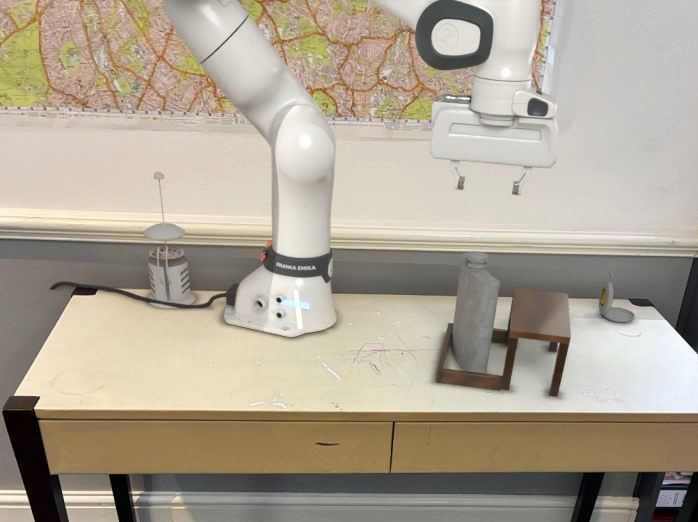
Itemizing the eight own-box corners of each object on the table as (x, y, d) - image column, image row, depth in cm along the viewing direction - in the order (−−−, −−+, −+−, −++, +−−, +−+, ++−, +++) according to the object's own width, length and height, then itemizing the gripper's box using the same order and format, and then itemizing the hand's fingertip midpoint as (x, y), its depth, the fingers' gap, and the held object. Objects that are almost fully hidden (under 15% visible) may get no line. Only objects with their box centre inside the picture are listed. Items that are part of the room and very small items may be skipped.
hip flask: (487, 379, 141) (504, 270, 129) (466, 380, 140) (481, 270, 128) (464, 341, 153) (478, 238, 141) (444, 342, 152) (456, 238, 140)
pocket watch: (640, 320, 166) (652, 274, 160) (613, 328, 162) (625, 281, 156) (610, 306, 171) (621, 261, 165) (584, 313, 167) (594, 267, 161)
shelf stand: (435, 382, 139) (442, 323, 132) (447, 334, 155) (453, 279, 149) (557, 398, 136) (570, 338, 130) (556, 347, 153) (567, 292, 146)
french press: (198, 290, 167) (187, 166, 152) (192, 312, 158) (180, 182, 143) (151, 289, 166) (135, 164, 151) (142, 311, 157) (125, 180, 142)
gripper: (430, 96, 119) (422, 190, 127) (566, 106, 117) (549, 202, 125) (434, 89, 124) (427, 181, 132) (565, 99, 122) (548, 192, 130)
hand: (487, 191), depth 129 cm, fingers open, 8 cm apart
